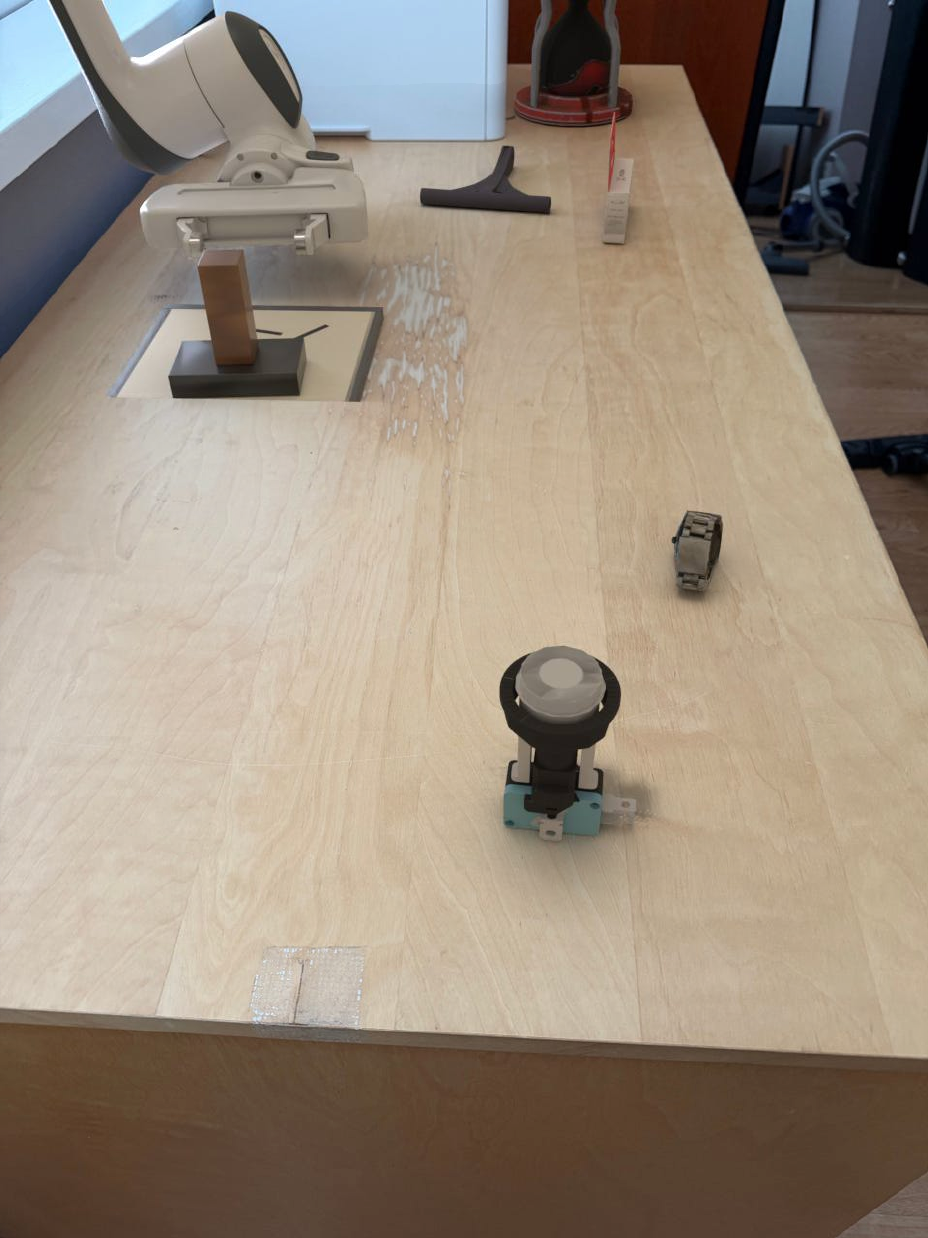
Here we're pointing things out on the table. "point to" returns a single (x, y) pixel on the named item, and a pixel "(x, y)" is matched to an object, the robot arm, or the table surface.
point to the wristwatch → (697, 549)
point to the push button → (559, 743)
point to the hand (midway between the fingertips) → (248, 248)
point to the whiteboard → (329, 333)
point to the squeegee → (490, 191)
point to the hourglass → (575, 69)
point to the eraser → (234, 342)
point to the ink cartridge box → (617, 194)
